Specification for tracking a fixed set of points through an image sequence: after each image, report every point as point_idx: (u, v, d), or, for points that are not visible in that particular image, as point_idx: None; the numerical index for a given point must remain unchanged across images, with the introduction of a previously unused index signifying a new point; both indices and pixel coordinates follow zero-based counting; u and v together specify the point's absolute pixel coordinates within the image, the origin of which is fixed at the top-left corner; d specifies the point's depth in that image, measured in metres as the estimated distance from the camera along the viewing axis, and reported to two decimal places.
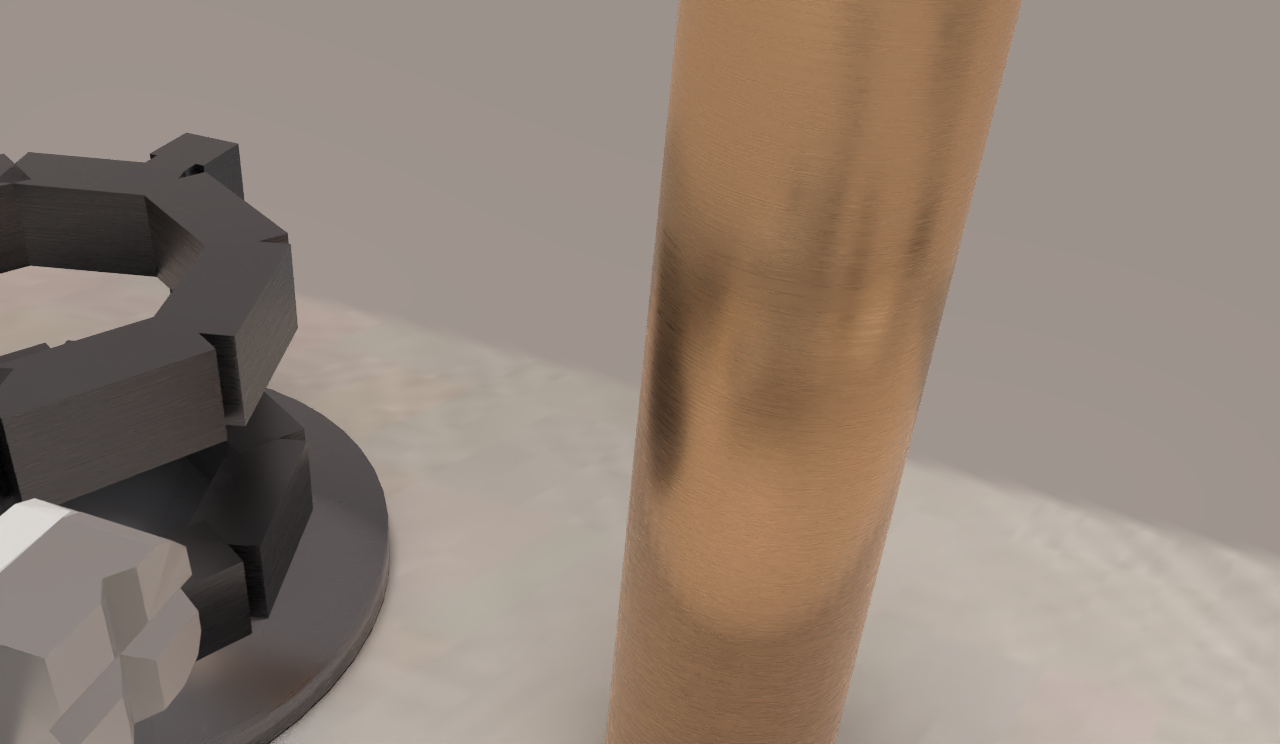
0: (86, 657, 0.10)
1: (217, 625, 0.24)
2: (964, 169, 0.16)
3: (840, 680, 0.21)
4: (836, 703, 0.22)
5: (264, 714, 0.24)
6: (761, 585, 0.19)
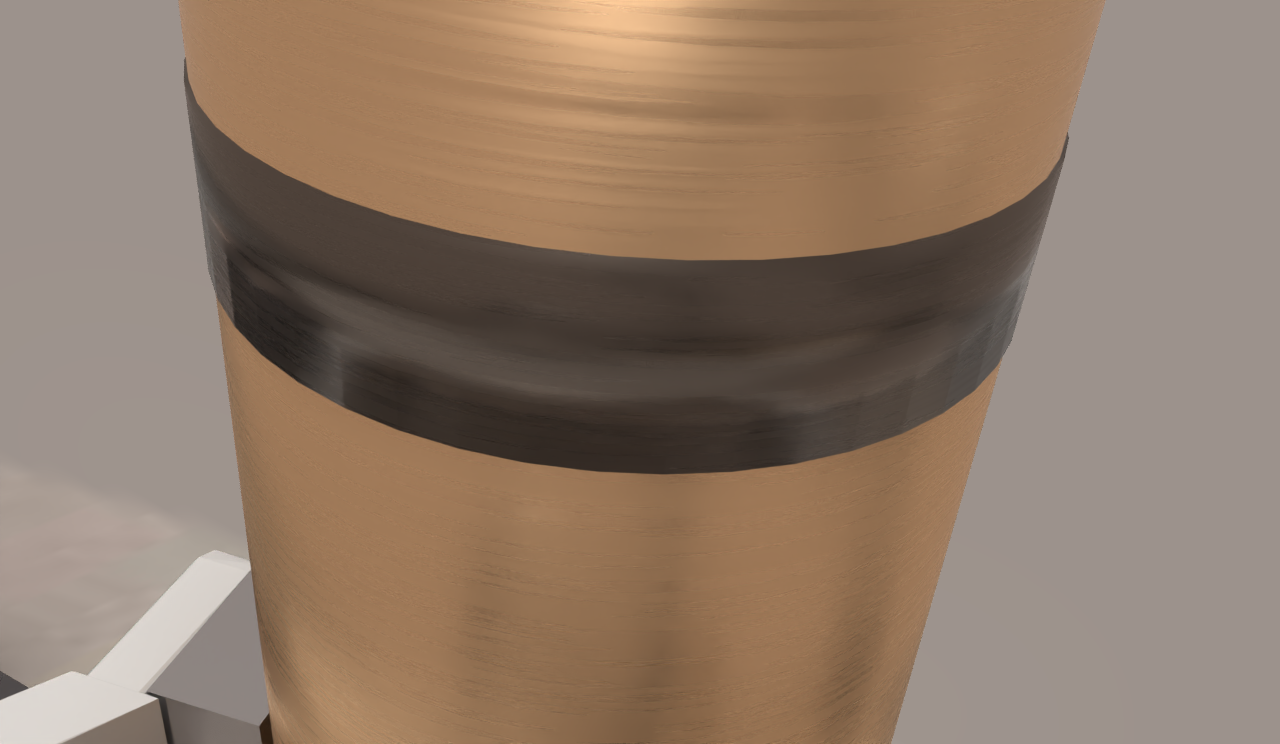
0: None
1: None
2: None
3: None
4: None
5: None
6: None
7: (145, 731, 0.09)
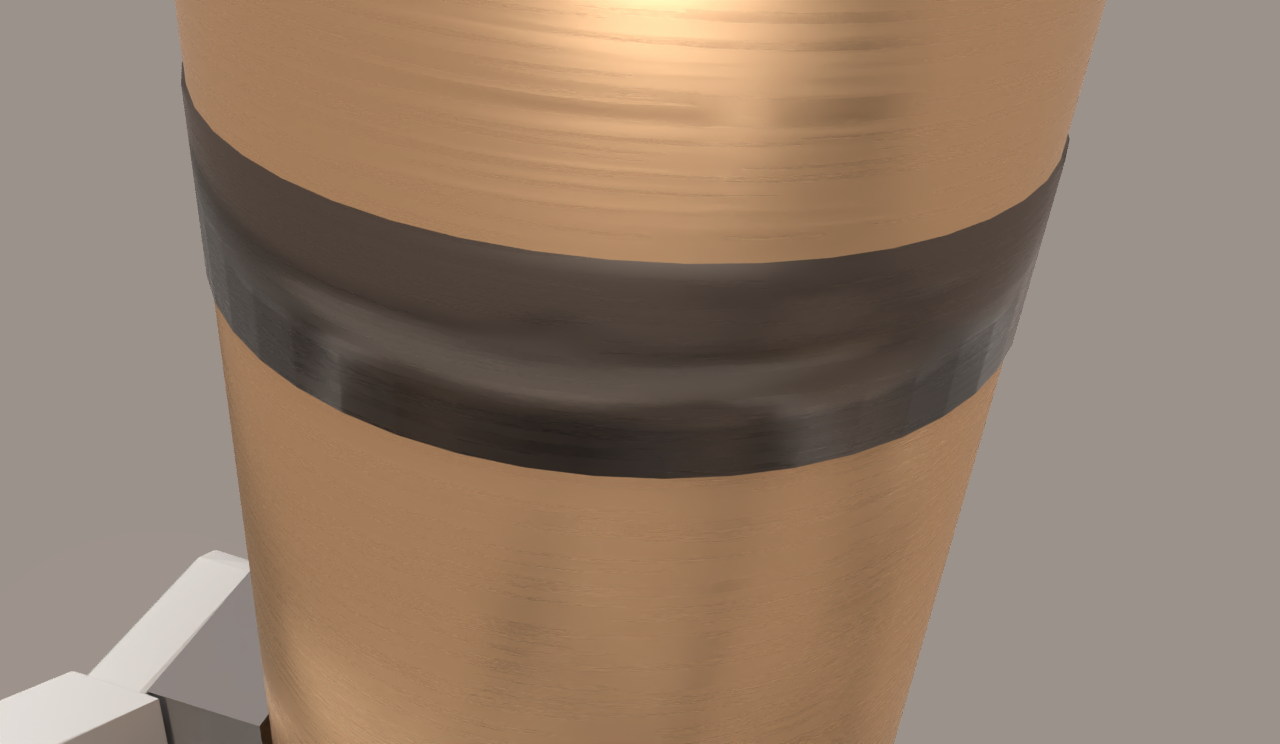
0: None
1: None
2: None
3: None
4: None
5: None
6: None
7: (146, 731, 0.09)
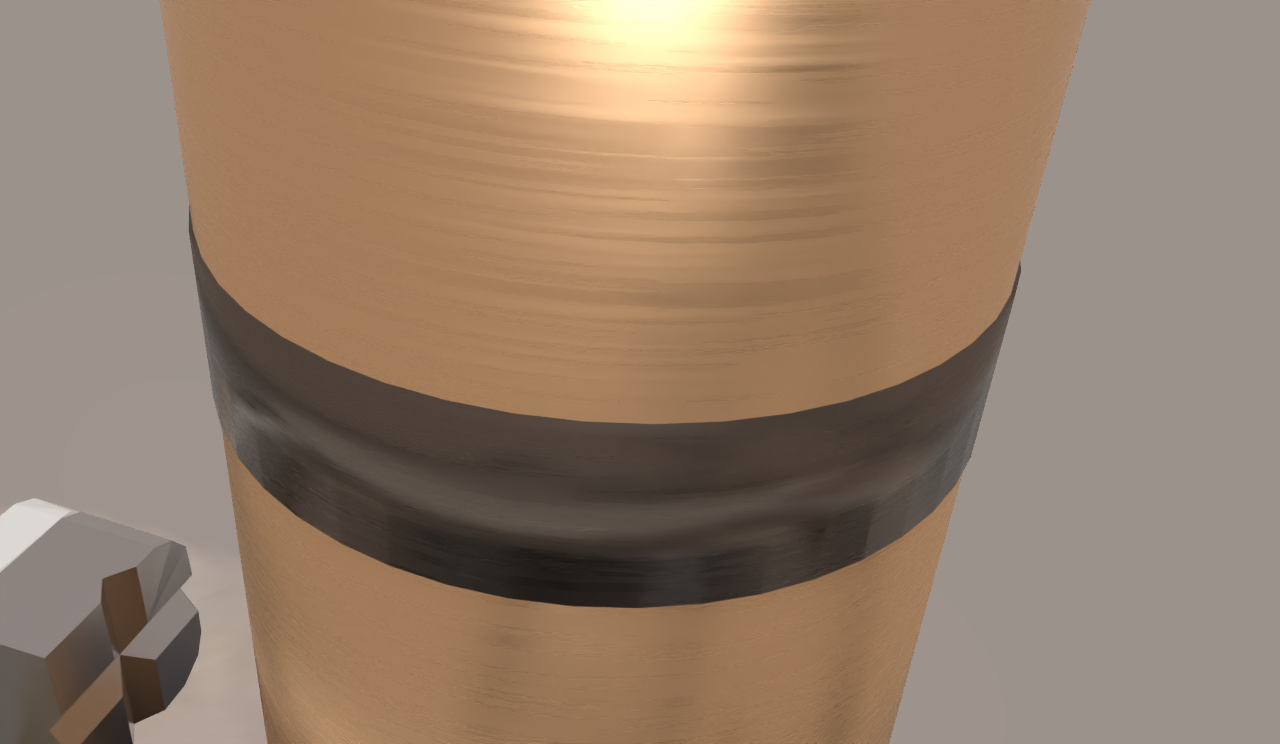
0: (86, 657, 0.10)
1: None
2: None
3: None
4: None
5: None
6: None
7: None
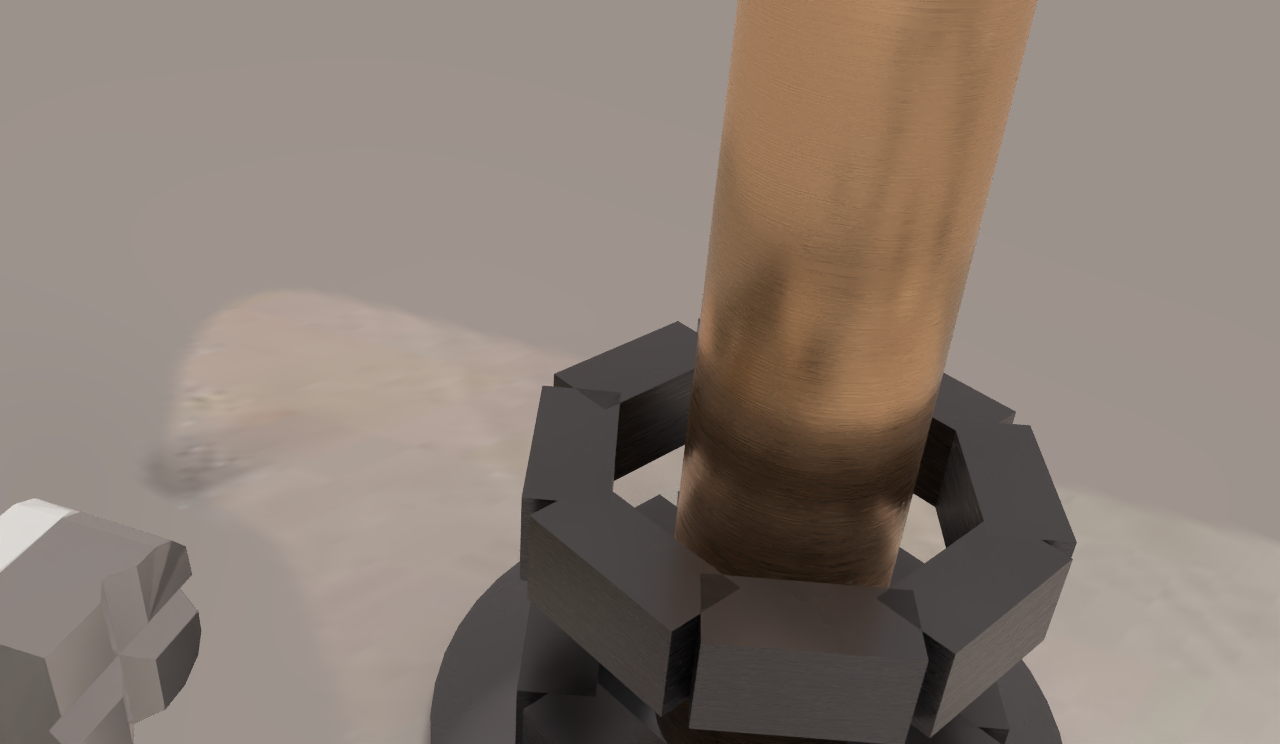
0: (86, 657, 0.10)
1: None
2: (983, 165, 0.18)
3: None
4: None
5: None
6: (804, 533, 0.21)
7: None
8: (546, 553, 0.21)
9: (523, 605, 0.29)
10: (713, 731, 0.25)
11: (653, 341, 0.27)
